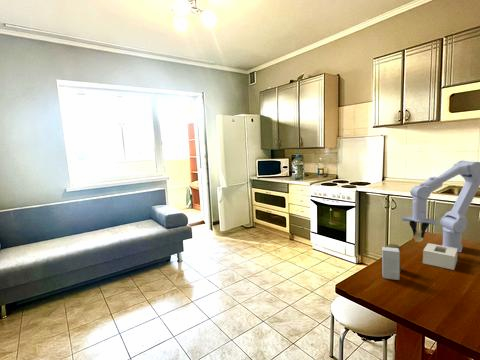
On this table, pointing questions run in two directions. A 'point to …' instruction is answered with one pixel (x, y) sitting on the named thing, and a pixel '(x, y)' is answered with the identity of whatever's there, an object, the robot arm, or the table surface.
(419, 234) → the wooden brick
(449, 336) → the table surface
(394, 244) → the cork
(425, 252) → the slot box
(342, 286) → the table surface
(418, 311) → the table surface
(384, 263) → the skincare box
